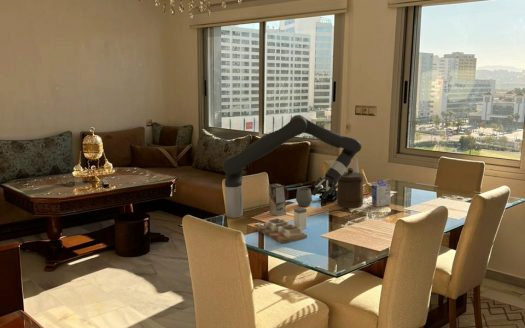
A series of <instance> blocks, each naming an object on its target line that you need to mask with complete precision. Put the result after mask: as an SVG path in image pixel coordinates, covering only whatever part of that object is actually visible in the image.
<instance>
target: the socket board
mask: <svg viewBox="0 0 525 328" xmlns="http://www.w3.org/2000/svg"><path fill="white" fill-rule="evenodd" d="M264 223H265V224H264V225H261V226H256V228H255V230H256V231H258V232H260V233H261V234H263V235H265V236H267V237H269V238H271V239H273V240H275V241H276V242H278V243H280V244H286V243H291V242H296V241H299V240H303V239H307V238H308V235H307V234H306V233H304V232H303V229H302V228H301V227H298V226H296V225H294V223H290V224H289V221H287V220H285V219H283V218H281V217H277V218H272V219H267V220H265V221H264Z"/></svg>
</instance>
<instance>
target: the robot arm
mask: <svg viewBox="0 0 525 328" xmlns="http://www.w3.org/2000/svg"><path fill="white" fill-rule="evenodd" d="M301 134H307V135H310V136H313V137H314V138H316V139H318V140H320V142H321V141H322V143H325V144H327V145H330V146H331V147H335V148H336V149H342V151H341V152H340V154H339V155H338V156H337V157H336V159H335V160H334V162H333V163H332V164H331V165H330V167H329V168H328V170H327V171H326V172H325V173H324V178H322V177H321V176H320V177H319V178H317V180H316V182H315V183H314V184H313V187H314V189H313V190H312V191H311V195H312V196H314V197H315V196H316V195H317V194H318V193H319V191H320V190H322V188H324V189H326V191H325V193H324V194H323V195H322V198H323V199H326V198H327V196H328V195H329V194H330V193H332V194H333V193H334V191H335V190H337V188H338V185H339V184H338V180H339V179H340V178H341V176H342V175H343V173H344V172H346V170H347V169H348V167H349V165H350V163H351V162H352V159H353V158H354V157H355V156H356V154H357V153H359V152H360V151H361V150H362V143H361V142H360V141H359V140H357V139H356V138H353V137H348V136H345V135H341V134H340V133H337V132H334V131H332V130H330V129H327V128H325V127H323V126H320V125H317V124H316V123H314V122H312V121H310V120H309V119H307V118H305V117H304V116H303V115H300V114H296V115H293V116H292V117H291V118H290V119H289V122H288V123H286V124H285V125H284V126H282V127H280V128H279V129H277V130H275V131H270V132H269V133H266V134H264V135H263V136H262V137H259V138H258V139H256V140H255V141H254V142H252V143H251V144H249V145H248V146H247V147H246V148H245V149H244V150H242V151H241V152H239V153H237V154H235V155H230V156H228V157H227V158H226V159H225V160H224V162H223V164H222V170H223V172H224V173H225V180H224V195H225V196H224V197H225V199H224V200H225V202H224V203H225V216H226V217H227V218H230V219H237V218H241V217H243V216H244V215H243V214H244V213H243V212H244V211H243V209H244V208H243V190H242V189H243V185H242V181H243V168H245V167H246V166H247V165H249V164H251V163H253V162H255V161H257V160H259V159H261V158H262V157H264V156H266V155H268V154H270V153H271V152H273V151H275V150H276V149H277V148H278V147H280V146H282V145H283V144H284V143H286V142H287V141H289V140H291V139H293V138H296V137H298V136H300V135H301Z"/></svg>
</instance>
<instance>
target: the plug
mask: <svg viewBox="0 0 525 328" xmlns="http://www.w3.org/2000/svg"><path fill="white" fill-rule="evenodd" d="M293 222H294V223H293V224H294V225H296V226H298V227H301V228H302V230H304V229H307V208H306V207H302V206H299V207H296V208H293Z"/></svg>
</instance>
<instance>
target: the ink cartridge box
mask: <svg viewBox="0 0 525 328" xmlns="http://www.w3.org/2000/svg"><path fill="white" fill-rule="evenodd" d="M391 188H392V187H391V184H390V183H387V182H384V180H383V179H379V180H377V183H376V184H372V185H371V205H372V206H374V207H376V208H378V207H383V206H391V193H392V192H391Z"/></svg>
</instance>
